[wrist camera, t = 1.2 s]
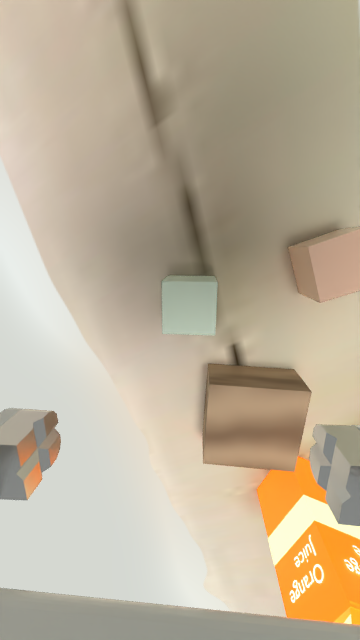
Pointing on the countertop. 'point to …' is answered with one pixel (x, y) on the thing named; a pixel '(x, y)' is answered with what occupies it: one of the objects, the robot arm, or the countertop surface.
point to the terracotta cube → (328, 264)
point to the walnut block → (254, 417)
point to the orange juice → (310, 548)
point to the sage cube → (189, 305)
